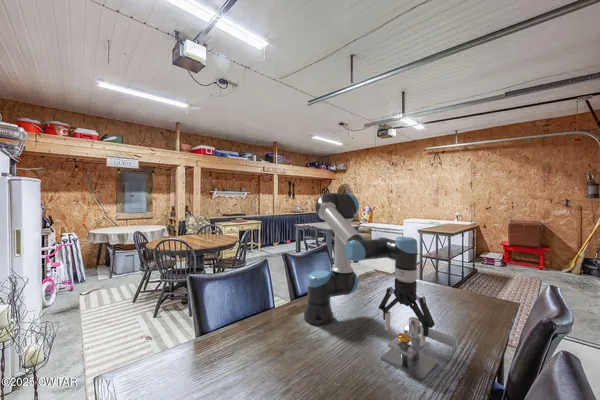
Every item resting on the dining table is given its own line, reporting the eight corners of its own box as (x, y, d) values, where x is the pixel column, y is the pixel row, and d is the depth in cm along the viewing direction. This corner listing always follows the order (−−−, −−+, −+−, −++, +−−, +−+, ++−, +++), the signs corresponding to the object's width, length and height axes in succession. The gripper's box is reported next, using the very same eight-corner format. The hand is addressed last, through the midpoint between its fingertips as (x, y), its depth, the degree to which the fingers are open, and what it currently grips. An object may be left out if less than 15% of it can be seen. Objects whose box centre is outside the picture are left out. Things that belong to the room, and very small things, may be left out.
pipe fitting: (414, 346, 110) (424, 341, 113) (413, 338, 110) (424, 333, 113) (399, 337, 117) (409, 332, 120) (398, 329, 117) (409, 324, 120)
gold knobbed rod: (396, 364, 96) (395, 335, 96) (401, 359, 99) (401, 331, 99) (407, 369, 93) (406, 340, 93) (412, 364, 96) (412, 336, 96)
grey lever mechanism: (379, 360, 100) (380, 321, 100) (398, 345, 110) (398, 310, 110) (443, 394, 83) (445, 348, 83) (459, 373, 93) (460, 332, 93)
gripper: (370, 273, 102) (369, 326, 103) (437, 291, 84) (435, 356, 84) (380, 269, 107) (379, 320, 108) (445, 286, 89) (444, 347, 89)
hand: (404, 336), depth 96 cm, fingers open, 13 cm apart
